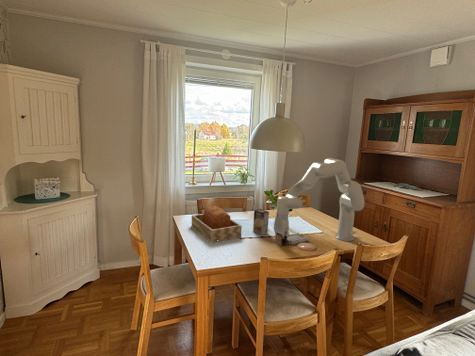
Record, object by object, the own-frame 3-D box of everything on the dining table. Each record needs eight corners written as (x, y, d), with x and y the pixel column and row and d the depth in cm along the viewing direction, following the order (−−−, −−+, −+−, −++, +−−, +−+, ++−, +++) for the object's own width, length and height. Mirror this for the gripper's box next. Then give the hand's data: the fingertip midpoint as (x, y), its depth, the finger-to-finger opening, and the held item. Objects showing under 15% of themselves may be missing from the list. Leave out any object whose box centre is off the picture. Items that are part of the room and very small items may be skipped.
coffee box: (252, 231, 202) (253, 210, 200) (258, 229, 207) (259, 208, 204) (262, 235, 196) (263, 213, 193) (268, 233, 201) (269, 211, 198)
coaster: (306, 242, 186) (306, 241, 186) (319, 248, 177) (319, 247, 177) (294, 245, 181) (294, 244, 181) (306, 252, 172) (306, 251, 171)
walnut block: (281, 240, 187) (281, 232, 186) (287, 243, 183) (287, 235, 182) (275, 242, 184) (275, 234, 183) (280, 245, 180) (281, 237, 179)
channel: (298, 236, 197) (298, 232, 197) (307, 240, 189) (307, 237, 189) (282, 239, 190) (282, 236, 189) (291, 244, 182) (291, 240, 182)
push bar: (295, 238, 193) (296, 234, 192) (301, 241, 189) (301, 237, 188) (283, 242, 186) (283, 238, 185) (288, 245, 182) (288, 240, 181)
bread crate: (218, 221, 221) (218, 211, 220) (241, 236, 192) (241, 225, 191) (191, 225, 210) (191, 215, 208) (211, 242, 181) (211, 230, 179)
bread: (213, 237, 190) (214, 214, 187) (201, 224, 213) (202, 204, 210) (232, 234, 196) (233, 212, 193) (218, 222, 219) (219, 203, 216)
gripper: (269, 212, 185) (268, 238, 189) (286, 220, 171) (284, 248, 174) (278, 211, 189) (276, 236, 192) (295, 218, 175) (294, 246, 178)
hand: (280, 242), depth 183 cm, fingers closed on walnut block, 5 cm apart
